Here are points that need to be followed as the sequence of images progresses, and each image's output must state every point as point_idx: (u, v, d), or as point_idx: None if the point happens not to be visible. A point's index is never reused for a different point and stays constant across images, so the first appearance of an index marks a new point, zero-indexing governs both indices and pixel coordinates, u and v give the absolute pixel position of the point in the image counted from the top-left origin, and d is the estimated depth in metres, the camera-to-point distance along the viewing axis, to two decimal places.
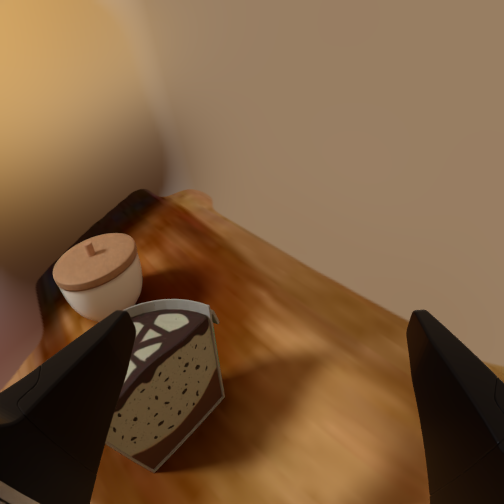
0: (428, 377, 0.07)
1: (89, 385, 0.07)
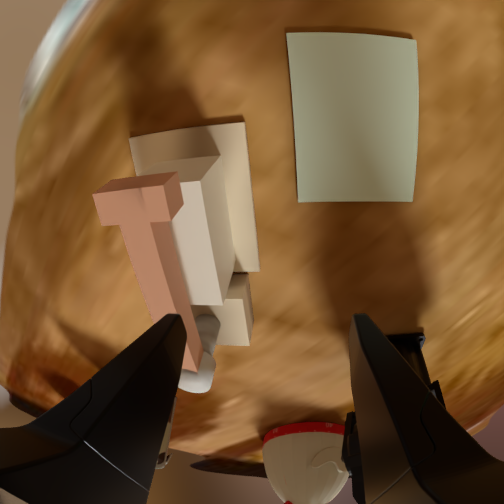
0: (361, 384, 0.07)
1: (146, 397, 0.07)
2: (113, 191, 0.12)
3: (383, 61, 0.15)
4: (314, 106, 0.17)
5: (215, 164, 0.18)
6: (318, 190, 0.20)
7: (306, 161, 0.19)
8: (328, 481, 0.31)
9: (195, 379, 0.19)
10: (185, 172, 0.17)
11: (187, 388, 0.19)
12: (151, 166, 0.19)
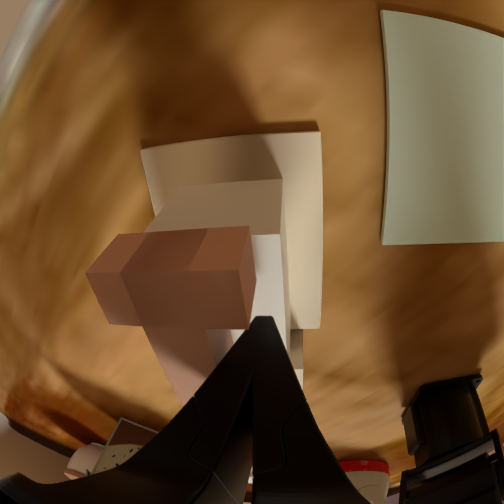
0: None
1: None
2: (127, 272, 0.06)
3: (494, 67, 0.09)
4: (416, 116, 0.11)
5: (282, 195, 0.12)
6: (409, 230, 0.14)
7: (400, 191, 0.13)
8: None
9: None
10: (242, 211, 0.11)
11: None
12: (177, 193, 0.13)
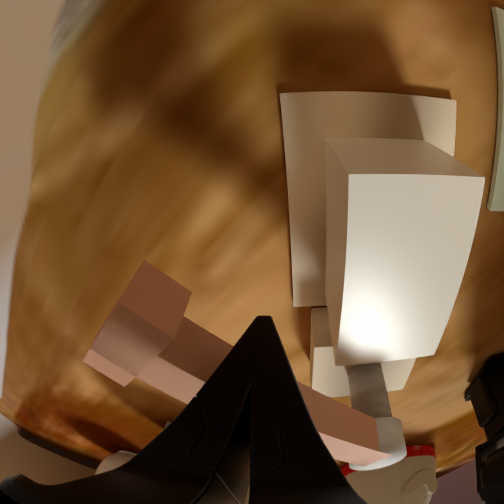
0: None
1: None
2: (91, 346, 0.08)
3: None
4: None
5: None
6: None
7: None
8: None
9: (383, 456, 0.11)
10: (429, 159, 0.09)
11: (380, 465, 0.12)
12: (330, 142, 0.11)
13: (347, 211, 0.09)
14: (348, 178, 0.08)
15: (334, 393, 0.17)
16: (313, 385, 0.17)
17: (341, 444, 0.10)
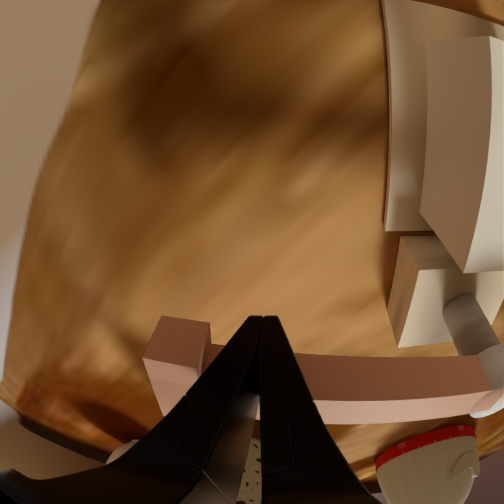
0: None
1: (244, 408, 0.07)
2: (158, 400, 0.09)
3: None
4: None
5: None
6: None
7: None
8: (464, 489, 0.20)
9: (500, 393, 0.08)
10: None
11: None
12: (435, 42, 0.08)
13: (489, 71, 0.06)
14: (488, 40, 0.05)
15: (423, 340, 0.14)
16: (405, 327, 0.14)
17: (438, 401, 0.08)
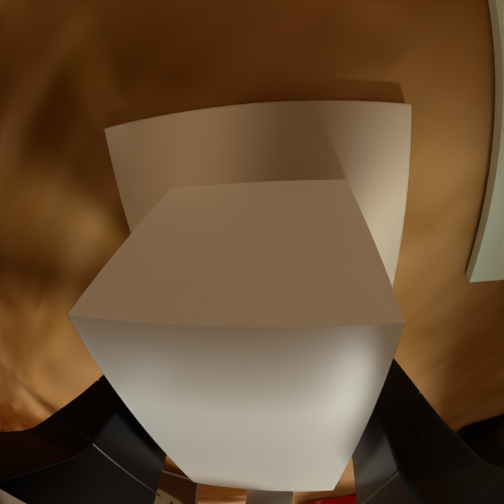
0: None
1: None
2: None
3: None
4: None
5: None
6: None
7: None
8: None
9: None
10: (294, 248, 0.05)
11: None
12: (162, 201, 0.07)
13: None
14: (74, 318, 0.04)
15: None
16: None
17: None
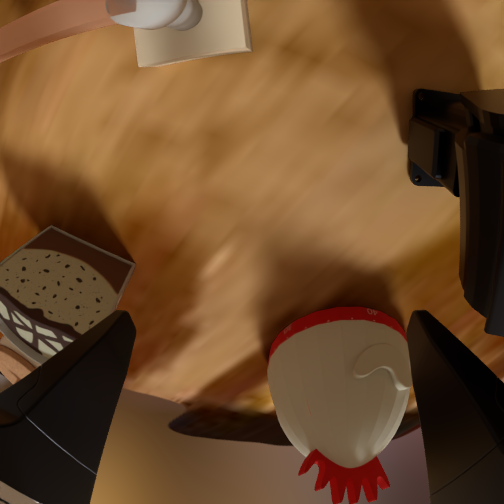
0: (428, 377, 0.07)
1: (89, 385, 0.07)
2: None
3: None
4: None
5: None
6: None
7: None
8: (383, 405, 0.19)
9: None
10: None
11: None
12: None
13: None
14: None
15: (160, 54, 0.14)
16: (136, 42, 0.13)
17: (65, 3, 0.08)
